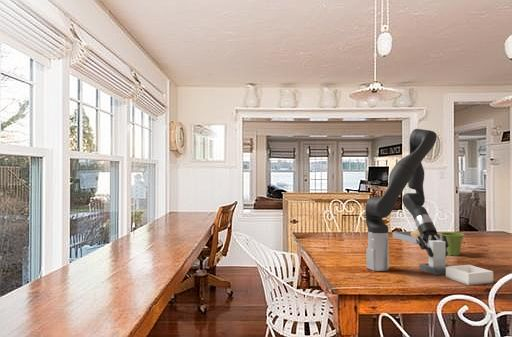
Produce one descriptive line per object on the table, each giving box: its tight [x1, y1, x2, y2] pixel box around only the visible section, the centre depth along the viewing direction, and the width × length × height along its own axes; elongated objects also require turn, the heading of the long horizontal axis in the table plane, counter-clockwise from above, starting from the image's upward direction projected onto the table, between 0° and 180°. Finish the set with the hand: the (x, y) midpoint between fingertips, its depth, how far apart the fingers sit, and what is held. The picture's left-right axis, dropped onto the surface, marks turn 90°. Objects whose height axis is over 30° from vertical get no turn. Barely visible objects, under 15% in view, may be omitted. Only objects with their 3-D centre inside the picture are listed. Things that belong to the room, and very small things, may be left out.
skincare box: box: [428, 240, 447, 268], centre depth 184 cm, size 6×4×12 cm
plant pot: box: [439, 231, 465, 257], centre depth 219 cm, size 12×12×11 cm
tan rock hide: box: [411, 228, 421, 238], centre depth 263 cm, size 18×14×8 cm
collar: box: [419, 262, 451, 276], centre depth 184 cm, size 11×11×2 cm
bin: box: [445, 264, 494, 286], centre depth 169 cm, size 12×12×4 cm
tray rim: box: [392, 230, 441, 245], centre depth 266 cm, size 24×24×4 cm
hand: (439, 256), depth 182 cm, fingers closed on skincare box, 6 cm apart
